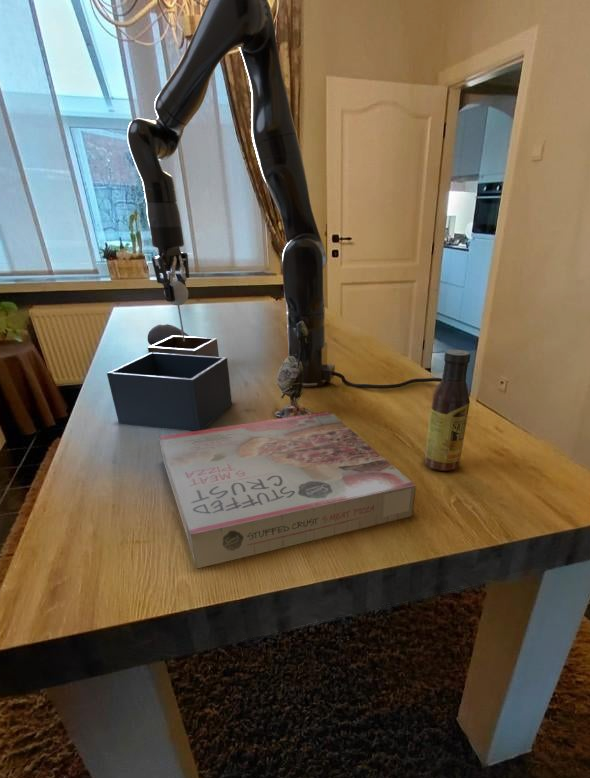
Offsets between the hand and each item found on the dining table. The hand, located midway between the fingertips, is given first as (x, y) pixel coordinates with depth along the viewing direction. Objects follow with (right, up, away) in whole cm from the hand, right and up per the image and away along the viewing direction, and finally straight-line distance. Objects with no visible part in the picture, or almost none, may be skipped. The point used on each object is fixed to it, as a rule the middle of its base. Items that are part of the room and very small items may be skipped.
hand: (177, 299), depth 128 cm
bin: (+6, -34, -19) cm, 39 cm away
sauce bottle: (+60, -47, -39) cm, 86 cm away
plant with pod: (+32, -34, -20) cm, 51 cm away
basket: (0, -15, +10) cm, 18 cm away
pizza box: (+32, -52, -47) cm, 77 cm away
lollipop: (0, -9, +6) cm, 11 cm away
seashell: (-11, -2, +31) cm, 33 cm away
